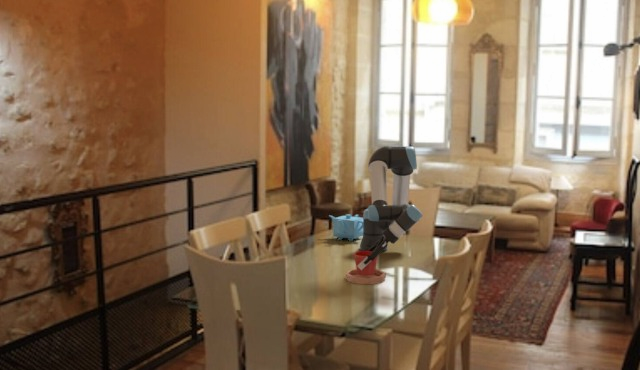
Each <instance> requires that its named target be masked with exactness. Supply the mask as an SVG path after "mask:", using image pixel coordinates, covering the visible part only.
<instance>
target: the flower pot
mask: <svg viewBox="0 0 640 370" xmlns="http://www.w3.org/2000/svg"><path fill="white" fill-rule="evenodd" d="M371 252H372V251H362V250H359V251H355V252H354V253H353V255H354V262H355V269H357V273H358V274H359V275H362V276H370V275H373V274H374V272H375V269H376V266H377V262H378V261H377V260H378V256H379V255H378V256H377V257H376V258H375V259H374V260H373V261H371V262H370V263H369V264H368V265H367V266H365V267H364V268H363V269H362V270H361V269H360V268H358V267H357V266H358V265H359V264H360V263H361V262H362V261H363V260H364V259H365V258H366V257H367V255H370V254H371Z"/></svg>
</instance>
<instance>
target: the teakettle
mask: <svg viewBox="0 0 640 370" xmlns="http://www.w3.org/2000/svg"><path fill="white" fill-rule="evenodd" d="M329 217H330V218H331V221H332V226H333V228H332V229H333V230H332V234H333V236H332V237H336V238H337V240H339V241H340V240H342V239H343V240H344V239H348V240H349V241H348V242H353V241H354V240H359V238H360V237H363V217H360V216H359V214H355V215H353V216H352V214H351V213H350V214H349V213H348V214H347V213H346V214H345V215H341V216H338V217H335V216H333V215H329Z"/></svg>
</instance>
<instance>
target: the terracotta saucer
mask: <svg viewBox="0 0 640 370" xmlns="http://www.w3.org/2000/svg"><path fill="white" fill-rule="evenodd" d="M344 275H345V279H346V281H347V282H350V283H352V284H357V285H378V284H380V283H384V282H385V281H386V278H387V272H385V271H382V270H380V269H378V268H375V272H374V274H373V275H370V276H362V275H359V274H358V273H357V268H354V269H349V270H348V271H347V272H346V273H345V274H344Z"/></svg>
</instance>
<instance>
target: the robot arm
mask: <svg viewBox="0 0 640 370" xmlns="http://www.w3.org/2000/svg"><path fill="white" fill-rule="evenodd" d="M417 162H418V161H417V154H416V149H415V147H414V146H407V145H406V146H392V145H391V146H389V145H388V146H387V145H386V146H381V147H380V148H379V147H378V148H377V149H376V150H375V151H374V152H373V153H371V156H370V158H369V160H368V171H369V173H370V189H371V192H370V194H371V205H368V207H367V208H366V209H364V211H363V215H362V216H363V217H362V218H363V236H362V238H361V241H360V243H359V251H372V252H371V254H370V255H367V257H366V258H365V259H364V260H363V261H362V262H361V263H360V264H359V265H358V266H357V267H358V268H360V269H361V270H362V269H363V268H364V267H365V266H367V265H368V264H369V263H370V262H371V261H373V260H374V259H375V258H376V257H377V256H379V255H380V254H381V253H382V252H386V251H387V250H388V245H389V242H390V243H391V244H395V243H396V242H397V241H399V240H400V238H402V236H406V232H408V231H410V230H411V228H412V227H413V226H414V225H415V224H417V223H418V222H420V220H421V219H422V217H423V215H424V214H423V213H422V211H421V210H420V209H419V208H418V207H417V206H416V205H415V204H409V195H410V183H411V181H410V180H411V175H412V174H413V173H414V170H416V169H417V167H418V165H417V164H418V163H417ZM388 170H391V172H392V174H393V179H392V180H393V182H392V197H391V205H389V204H388V192H387V191H388V189H387V173H386V172H387V171H388ZM377 258H378V257H377Z"/></svg>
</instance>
